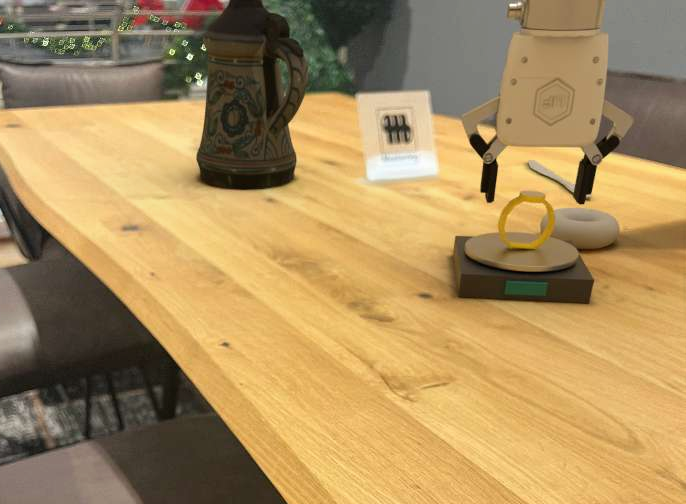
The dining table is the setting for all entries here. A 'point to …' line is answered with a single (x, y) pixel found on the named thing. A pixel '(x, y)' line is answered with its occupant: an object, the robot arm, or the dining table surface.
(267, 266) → the dining table surface
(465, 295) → the scale
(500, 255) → the scale pan
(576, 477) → the dining table surface
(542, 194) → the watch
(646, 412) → the dining table surface
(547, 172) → the butter knife
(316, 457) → the dining table surface
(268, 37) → the beer stein
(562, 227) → the donut
